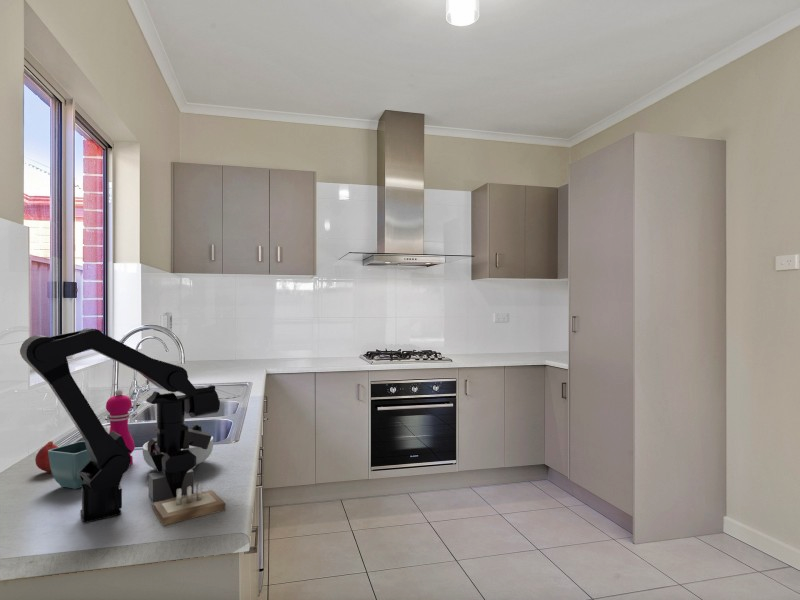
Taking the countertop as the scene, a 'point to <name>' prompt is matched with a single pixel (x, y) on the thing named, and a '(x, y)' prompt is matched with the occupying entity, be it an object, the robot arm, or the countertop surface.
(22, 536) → the countertop surface
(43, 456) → the onion
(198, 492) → the header pins
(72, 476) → the flower pot
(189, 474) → the block
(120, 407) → the pepper mill
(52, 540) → the countertop surface
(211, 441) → the cereal bowl
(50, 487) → the countertop surface
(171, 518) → the pin board
